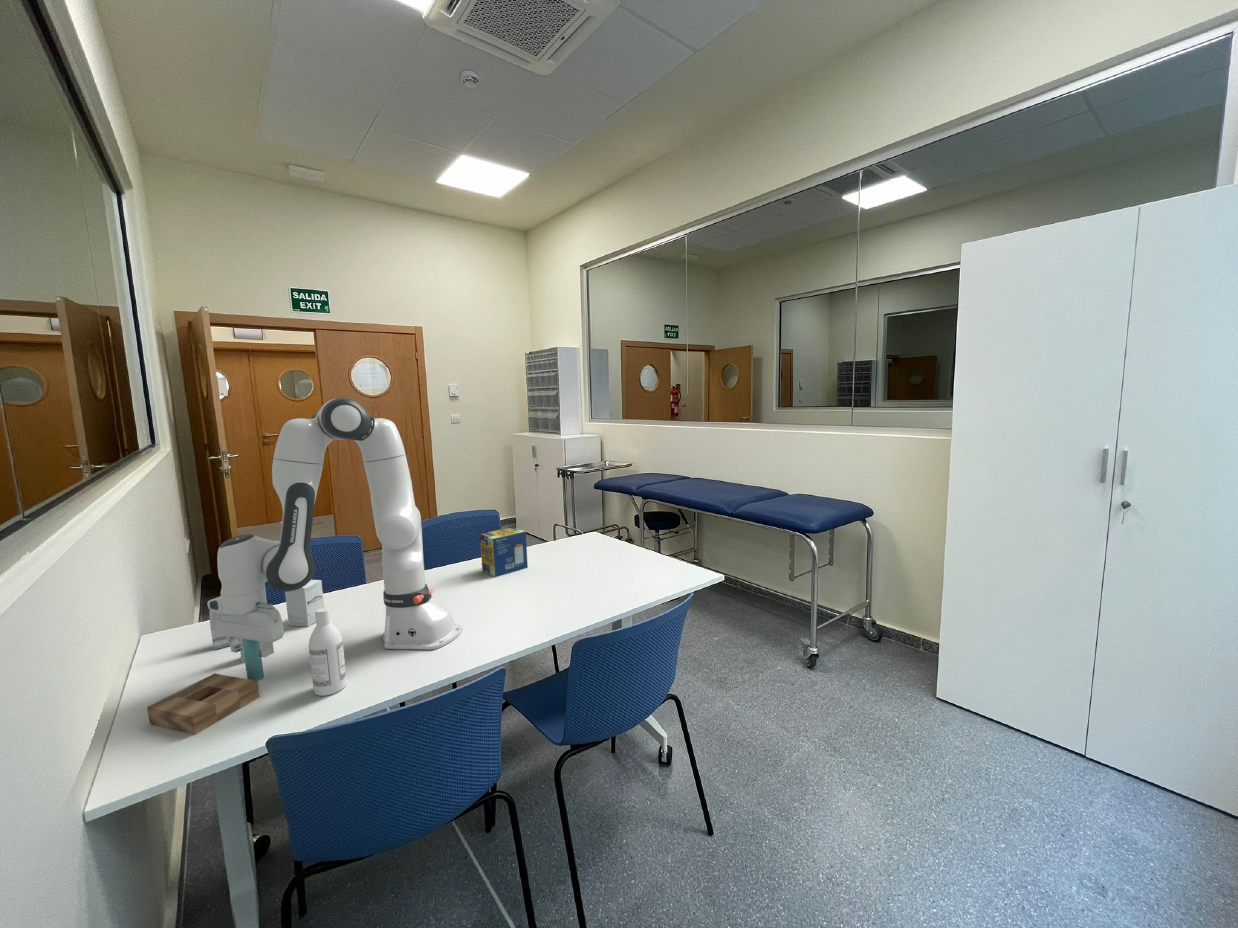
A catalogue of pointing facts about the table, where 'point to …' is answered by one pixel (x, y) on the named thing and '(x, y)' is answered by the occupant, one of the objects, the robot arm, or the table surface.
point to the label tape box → (218, 639)
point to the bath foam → (326, 656)
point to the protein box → (503, 551)
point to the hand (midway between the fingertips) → (250, 653)
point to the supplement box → (304, 604)
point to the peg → (252, 659)
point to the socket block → (203, 703)
